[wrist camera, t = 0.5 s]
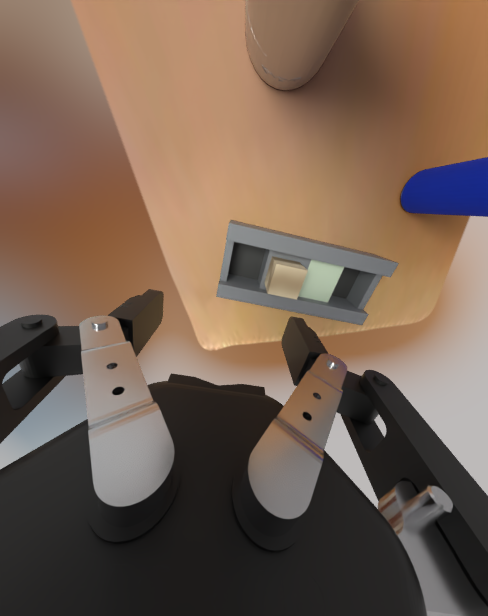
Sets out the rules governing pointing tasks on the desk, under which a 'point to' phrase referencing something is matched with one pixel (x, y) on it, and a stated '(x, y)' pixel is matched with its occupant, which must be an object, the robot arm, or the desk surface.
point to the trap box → (319, 279)
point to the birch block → (285, 278)
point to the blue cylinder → (449, 190)
